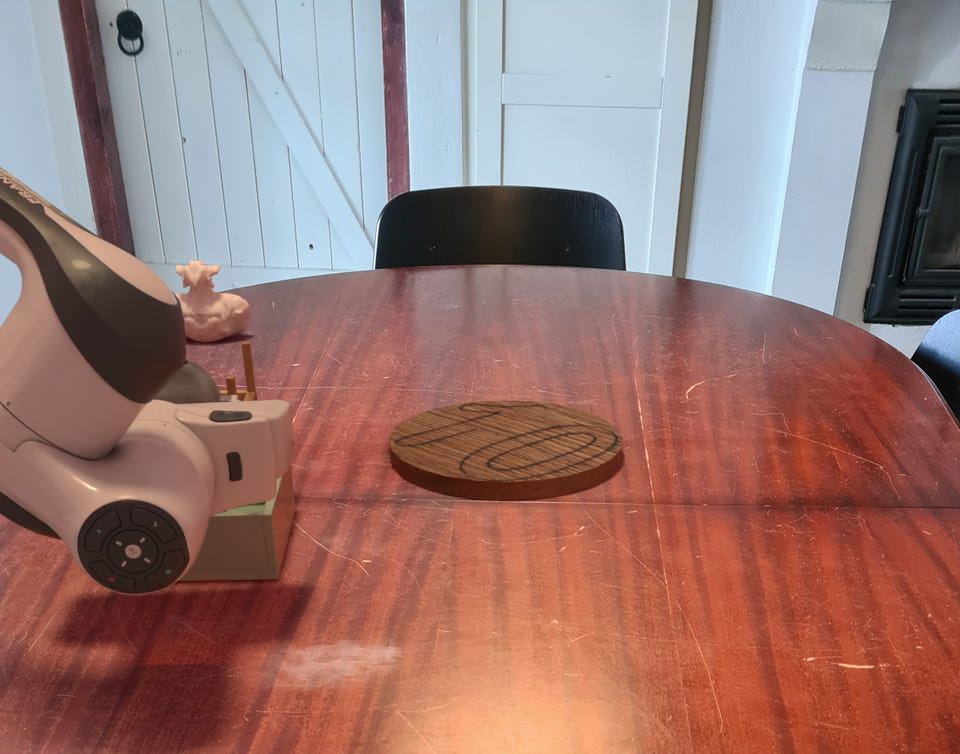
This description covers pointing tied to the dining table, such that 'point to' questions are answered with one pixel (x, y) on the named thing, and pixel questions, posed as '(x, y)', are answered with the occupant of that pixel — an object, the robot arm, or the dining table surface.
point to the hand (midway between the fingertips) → (174, 406)
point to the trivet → (505, 450)
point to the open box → (247, 539)
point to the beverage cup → (190, 387)
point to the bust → (209, 305)
